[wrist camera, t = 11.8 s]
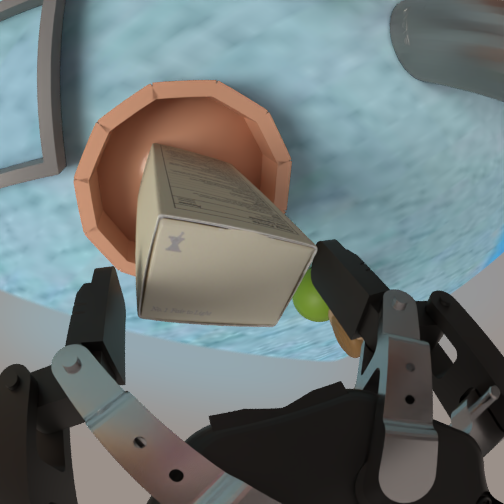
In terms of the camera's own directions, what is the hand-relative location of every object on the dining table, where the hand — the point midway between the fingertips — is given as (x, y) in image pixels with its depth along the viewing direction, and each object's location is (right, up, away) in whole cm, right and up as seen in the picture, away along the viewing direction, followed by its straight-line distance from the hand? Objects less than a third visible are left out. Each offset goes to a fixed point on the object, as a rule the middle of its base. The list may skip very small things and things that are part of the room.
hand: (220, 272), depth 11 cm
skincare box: (-4, +6, +9) cm, 11 cm away
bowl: (-4, +6, +9) cm, 12 cm away
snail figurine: (+7, -1, +19) cm, 20 cm away
